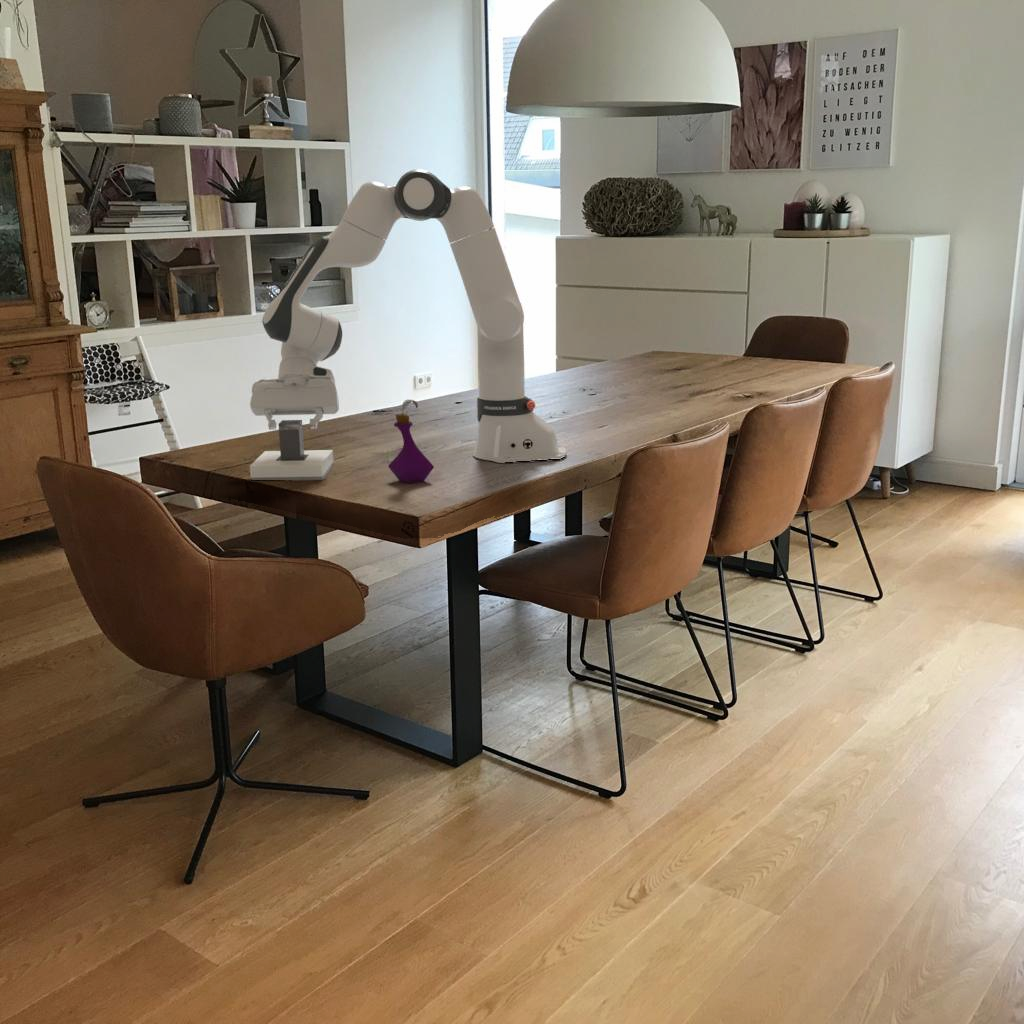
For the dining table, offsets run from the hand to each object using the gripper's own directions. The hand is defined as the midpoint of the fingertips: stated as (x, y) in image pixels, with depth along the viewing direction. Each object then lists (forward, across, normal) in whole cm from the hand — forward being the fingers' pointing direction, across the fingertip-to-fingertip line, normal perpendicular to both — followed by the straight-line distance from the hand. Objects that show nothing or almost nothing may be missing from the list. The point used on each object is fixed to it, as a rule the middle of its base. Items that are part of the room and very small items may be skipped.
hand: (292, 427), depth 261 cm
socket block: (+8, 0, +6) cm, 10 cm away
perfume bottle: (+16, +28, -1) cm, 32 cm away
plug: (+8, 0, +5) cm, 9 cm away
